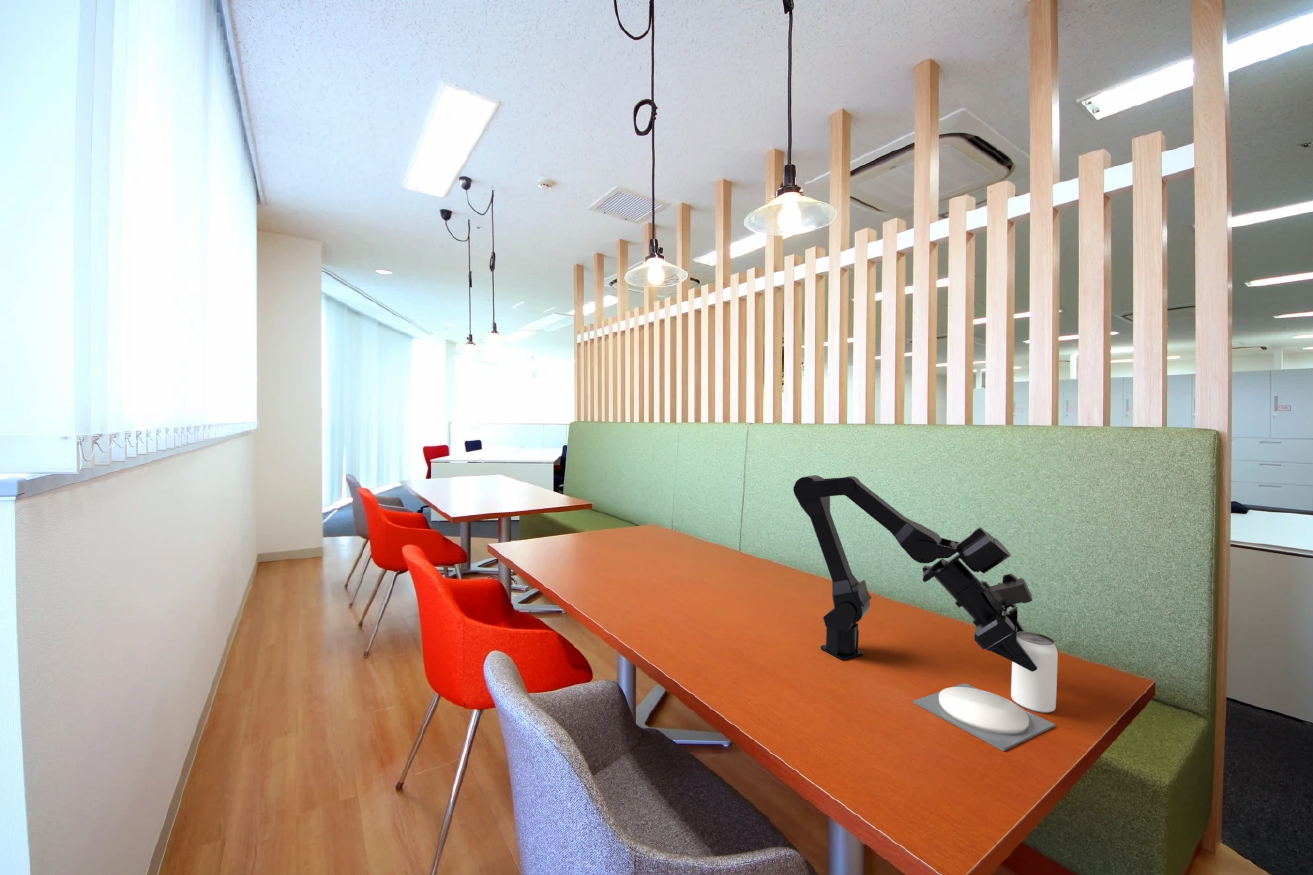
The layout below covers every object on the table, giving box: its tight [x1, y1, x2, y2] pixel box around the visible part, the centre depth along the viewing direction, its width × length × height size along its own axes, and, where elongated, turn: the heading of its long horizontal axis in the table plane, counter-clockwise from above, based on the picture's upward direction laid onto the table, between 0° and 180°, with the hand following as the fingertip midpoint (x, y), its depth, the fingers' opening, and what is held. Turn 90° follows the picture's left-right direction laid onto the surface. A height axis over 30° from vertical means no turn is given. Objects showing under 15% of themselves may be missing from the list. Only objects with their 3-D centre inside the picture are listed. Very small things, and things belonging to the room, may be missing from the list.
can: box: [1010, 630, 1059, 714], centre depth 91 cm, size 6×6×12 cm
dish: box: [913, 682, 1056, 752], centre depth 87 cm, size 15×15×1 cm
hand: (1034, 660), depth 91 cm, fingers open, 9 cm apart
